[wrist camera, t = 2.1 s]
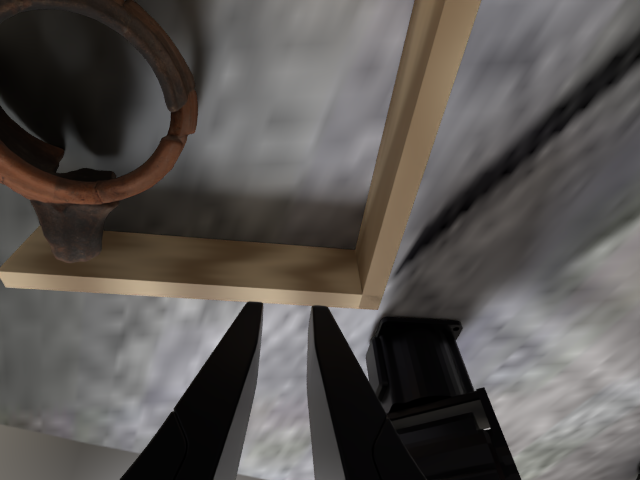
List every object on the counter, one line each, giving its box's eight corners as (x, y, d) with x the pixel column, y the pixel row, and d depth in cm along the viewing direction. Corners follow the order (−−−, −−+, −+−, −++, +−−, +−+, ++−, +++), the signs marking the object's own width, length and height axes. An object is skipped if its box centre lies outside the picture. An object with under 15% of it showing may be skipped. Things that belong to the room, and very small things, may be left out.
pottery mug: (-76, -39, 15) (-189, -106, 9) (172, 5, 20) (217, -19, 13) (0, 234, 20) (-38, 321, 13) (184, 217, 24) (221, 275, 18)
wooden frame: (460, -62, 15) (502, -63, 11) (369, 264, 25) (378, 309, 22) (-127, -160, 12) (-272, -194, 9) (46, 240, 23) (5, 287, 20)
